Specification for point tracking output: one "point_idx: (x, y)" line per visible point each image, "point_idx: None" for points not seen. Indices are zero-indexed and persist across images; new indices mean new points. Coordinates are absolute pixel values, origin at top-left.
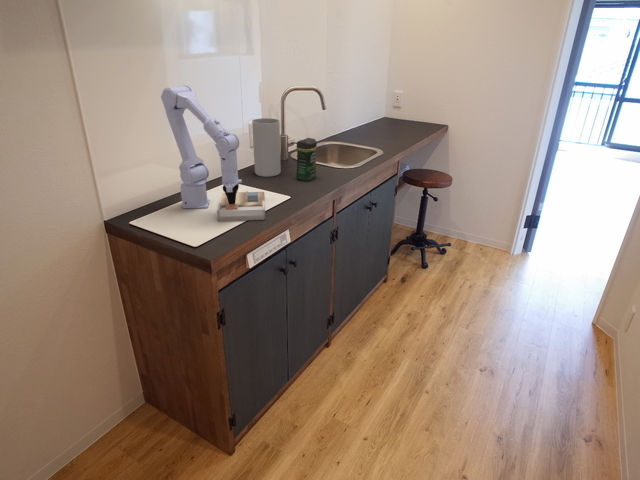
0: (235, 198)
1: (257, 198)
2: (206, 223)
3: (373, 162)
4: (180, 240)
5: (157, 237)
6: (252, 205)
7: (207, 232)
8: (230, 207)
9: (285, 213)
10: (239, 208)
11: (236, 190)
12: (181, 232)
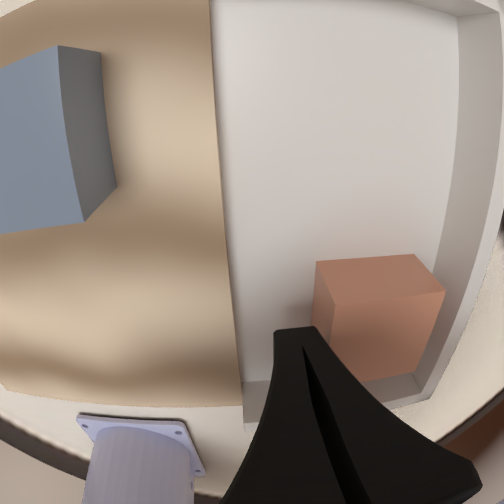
0: (353, 375)
1: (80, 56)
2: None
3: None
4: (494, 393)
5: (442, 442)
6: (215, 109)
7: (492, 346)
8: (415, 345)
9: None
10: (274, 253)
11: (463, 467)
12: (444, 416)
